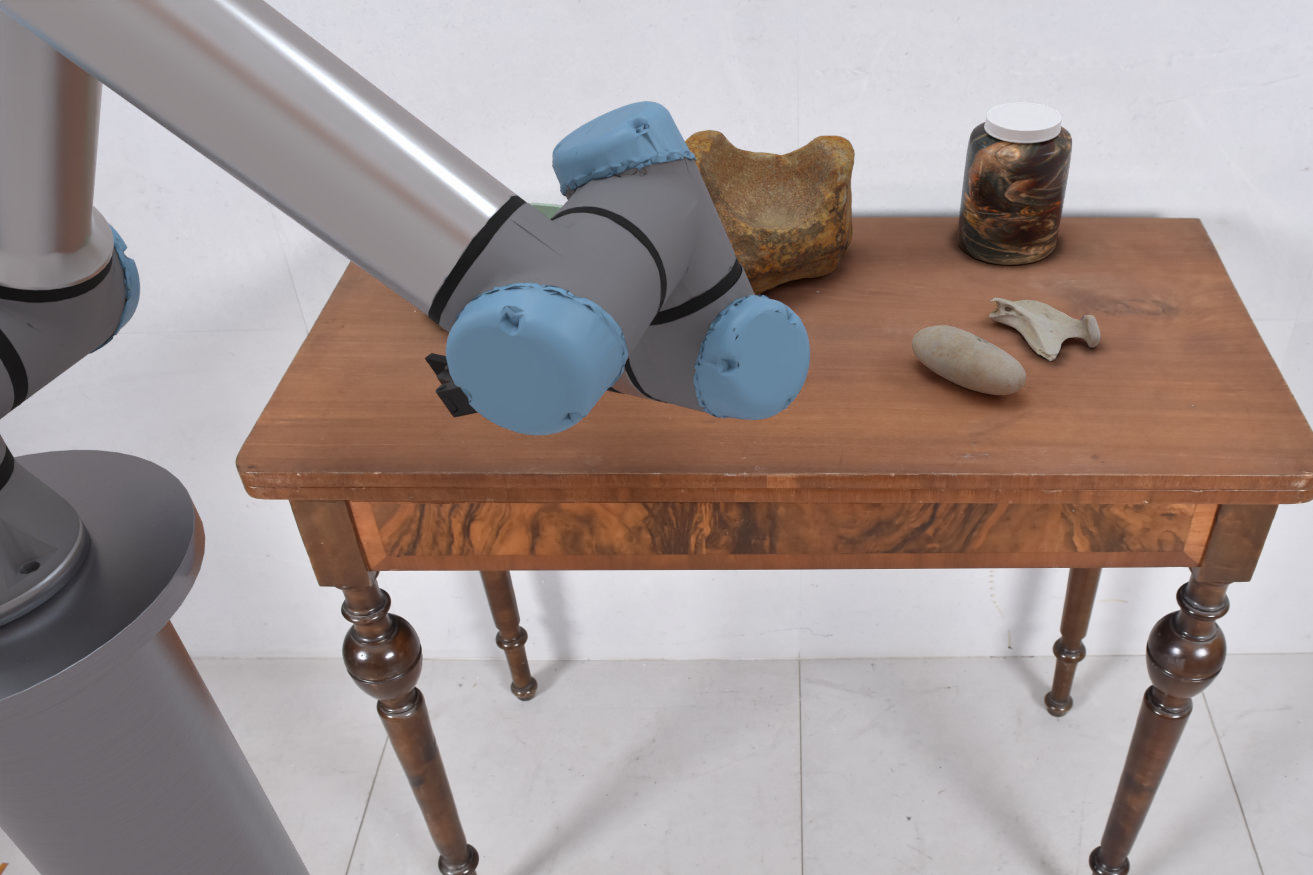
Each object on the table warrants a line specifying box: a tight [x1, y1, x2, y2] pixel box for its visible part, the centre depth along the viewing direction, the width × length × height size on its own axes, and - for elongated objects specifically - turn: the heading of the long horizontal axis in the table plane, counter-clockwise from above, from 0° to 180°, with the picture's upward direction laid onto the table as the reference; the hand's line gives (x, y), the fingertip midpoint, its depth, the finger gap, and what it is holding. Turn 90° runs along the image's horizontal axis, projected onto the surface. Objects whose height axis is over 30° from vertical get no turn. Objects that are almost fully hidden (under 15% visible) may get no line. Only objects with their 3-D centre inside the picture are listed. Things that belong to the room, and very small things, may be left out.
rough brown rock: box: [684, 129, 856, 295], centre depth 117 cm, size 23×17×15 cm
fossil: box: [988, 297, 1102, 362], centre depth 110 cm, size 7×11×3 cm, turn 36°
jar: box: [956, 101, 1073, 266], centre depth 122 cm, size 12×12×15 cm
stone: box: [911, 324, 1027, 396], centre depth 103 cm, size 6×6×12 cm
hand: (499, 321), depth 92 cm, fingers open, 13 cm apart
